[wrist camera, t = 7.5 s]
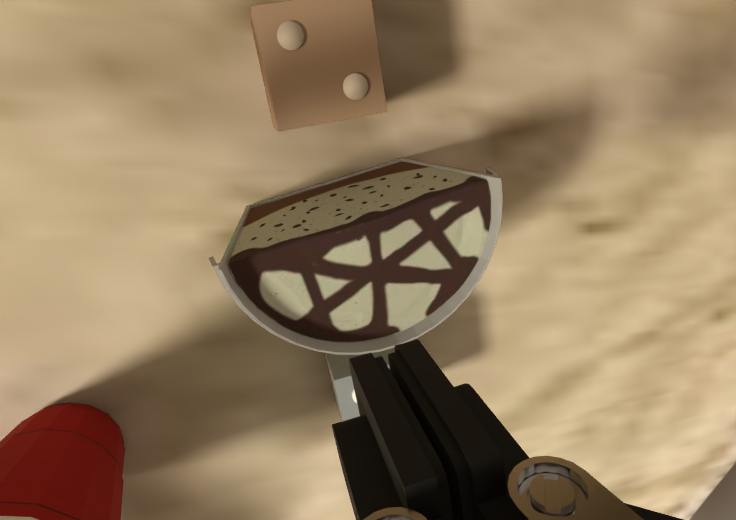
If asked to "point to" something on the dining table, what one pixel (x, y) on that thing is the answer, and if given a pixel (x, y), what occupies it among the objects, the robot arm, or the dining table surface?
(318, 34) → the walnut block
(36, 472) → the plastic cup
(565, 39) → the dining table surface
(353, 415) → the slate-grey block
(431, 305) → the food container
